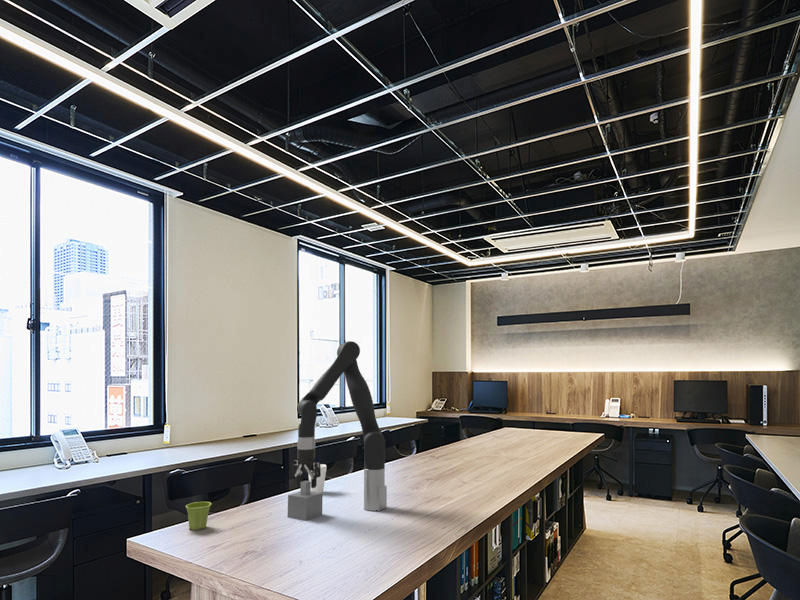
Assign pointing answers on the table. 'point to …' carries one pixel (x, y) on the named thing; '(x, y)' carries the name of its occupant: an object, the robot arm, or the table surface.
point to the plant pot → (198, 514)
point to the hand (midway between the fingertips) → (305, 486)
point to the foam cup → (320, 479)
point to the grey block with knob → (305, 503)
